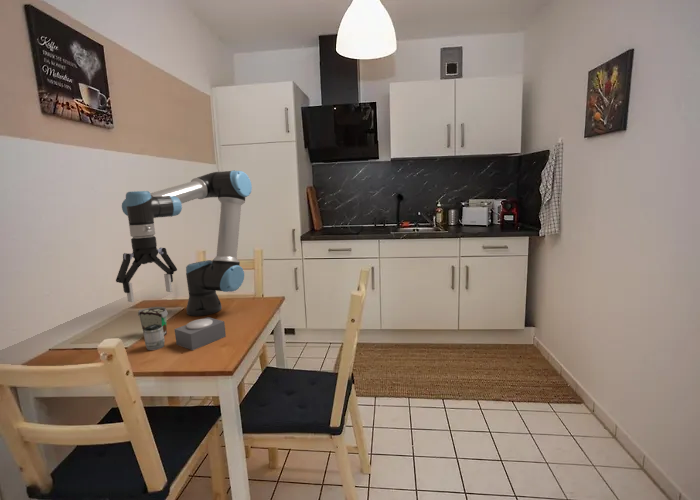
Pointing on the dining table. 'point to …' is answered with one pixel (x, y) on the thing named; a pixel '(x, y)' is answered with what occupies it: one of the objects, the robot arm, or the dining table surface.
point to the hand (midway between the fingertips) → (151, 296)
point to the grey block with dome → (200, 333)
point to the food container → (153, 317)
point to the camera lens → (154, 337)
